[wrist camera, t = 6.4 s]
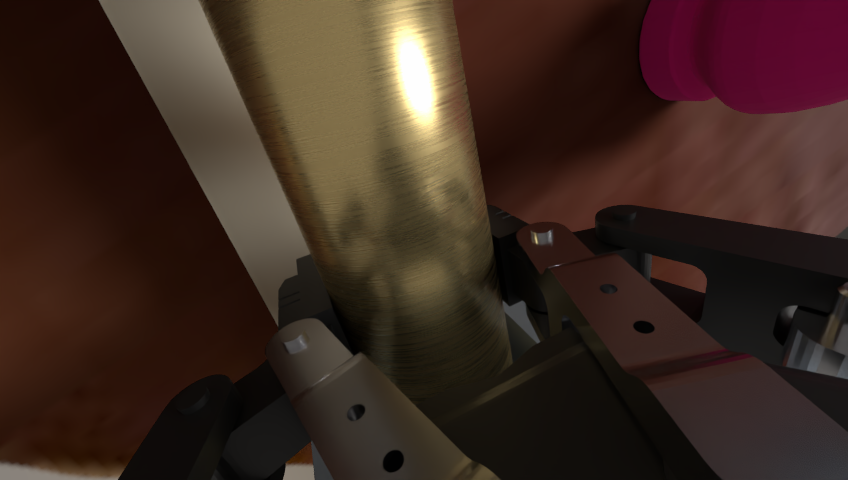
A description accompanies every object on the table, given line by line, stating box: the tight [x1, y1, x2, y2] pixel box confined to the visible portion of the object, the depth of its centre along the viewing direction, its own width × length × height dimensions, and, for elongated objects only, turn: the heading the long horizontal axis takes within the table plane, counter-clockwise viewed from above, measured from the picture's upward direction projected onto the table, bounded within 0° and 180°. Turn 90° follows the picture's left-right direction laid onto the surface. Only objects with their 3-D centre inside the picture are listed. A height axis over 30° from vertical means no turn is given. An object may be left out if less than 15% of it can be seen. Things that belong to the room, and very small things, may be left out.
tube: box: [198, 0, 513, 405], centre depth 8 cm, size 18×5×5 cm, turn 14°
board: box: [99, 0, 310, 326], centre depth 13 cm, size 24×10×1 cm, turn 14°
